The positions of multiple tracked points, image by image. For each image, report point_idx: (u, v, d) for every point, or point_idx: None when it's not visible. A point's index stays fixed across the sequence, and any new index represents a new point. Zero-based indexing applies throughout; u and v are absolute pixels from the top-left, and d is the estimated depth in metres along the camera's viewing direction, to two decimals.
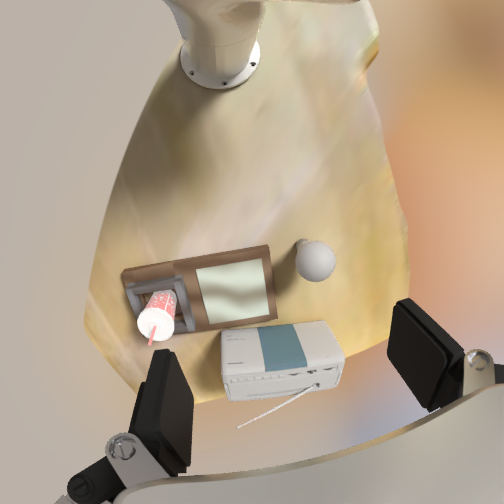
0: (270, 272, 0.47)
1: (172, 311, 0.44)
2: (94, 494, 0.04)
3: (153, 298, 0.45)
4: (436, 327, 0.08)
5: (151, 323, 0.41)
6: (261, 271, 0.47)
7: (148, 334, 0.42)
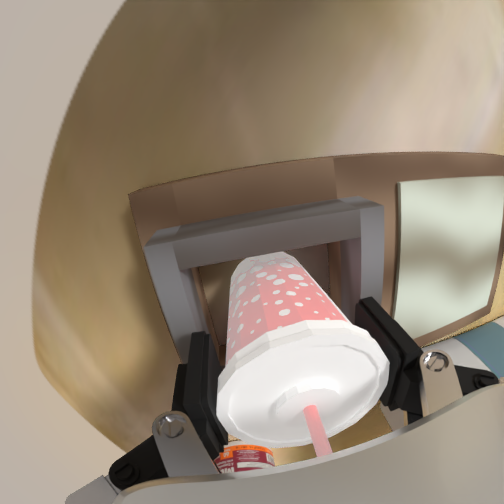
0: None
1: None
2: (140, 477, 0.05)
3: (263, 282, 0.12)
4: (393, 326, 0.09)
5: (299, 398, 0.08)
6: (501, 205, 0.14)
7: (261, 434, 0.09)
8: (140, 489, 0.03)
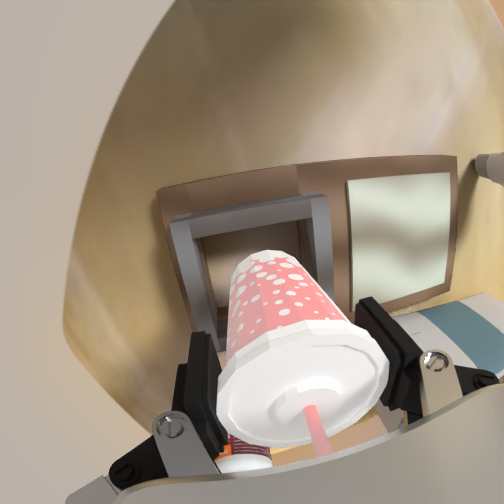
0: (455, 201, 0.21)
1: None
2: (140, 477, 0.05)
3: (263, 282, 0.12)
4: (393, 326, 0.09)
5: (299, 398, 0.08)
6: (448, 196, 0.20)
7: (261, 434, 0.09)
8: (140, 489, 0.03)
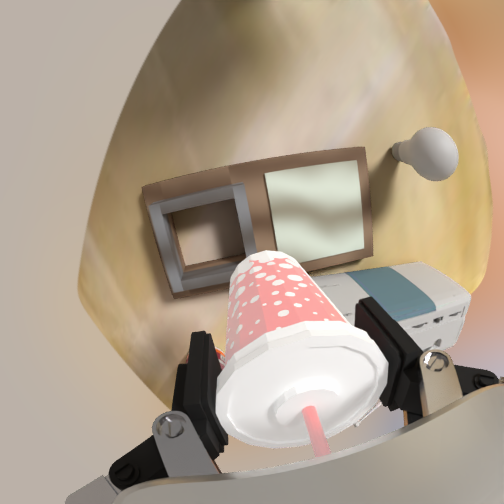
0: (366, 182, 0.31)
1: None
2: (140, 477, 0.05)
3: (262, 283, 0.12)
4: (393, 326, 0.09)
5: (298, 399, 0.08)
6: (356, 179, 0.30)
7: (260, 435, 0.09)
8: (140, 489, 0.03)
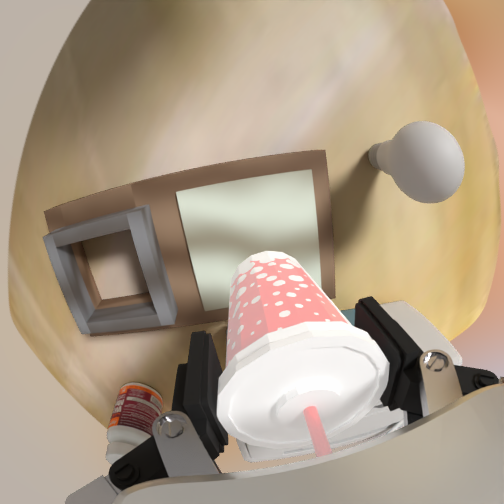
0: (327, 200, 0.23)
1: None
2: (140, 477, 0.05)
3: (263, 283, 0.12)
4: (393, 326, 0.09)
5: (299, 399, 0.08)
6: (311, 196, 0.22)
7: (261, 435, 0.09)
8: (140, 489, 0.03)
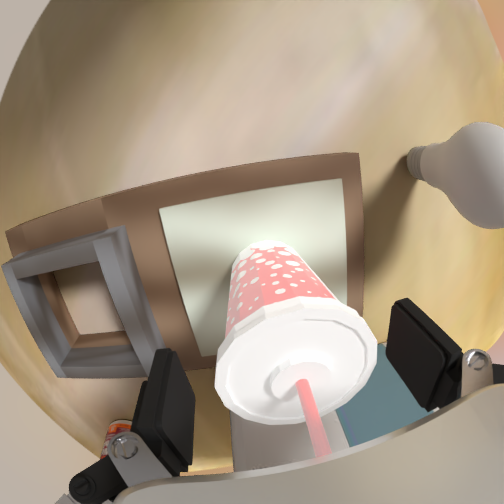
0: (359, 219, 0.17)
1: None
2: (96, 493, 0.04)
3: (262, 267, 0.13)
4: (434, 327, 0.08)
5: (292, 371, 0.09)
6: (340, 214, 0.17)
7: (255, 409, 0.10)
8: (140, 489, 0.03)
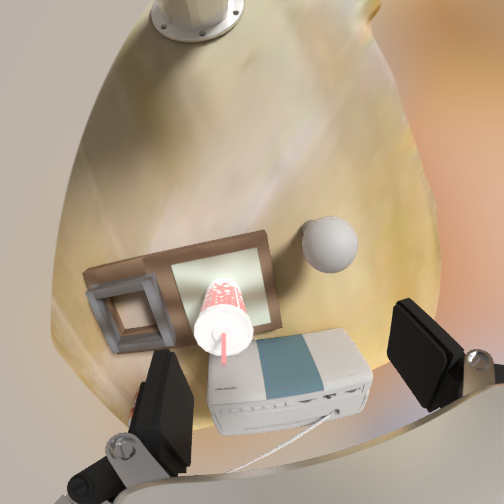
0: (269, 266, 0.36)
1: (245, 310, 0.30)
2: (94, 494, 0.04)
3: (214, 292, 0.31)
4: (436, 327, 0.08)
5: (218, 329, 0.27)
6: (257, 265, 0.35)
7: (210, 347, 0.28)
8: (140, 489, 0.03)
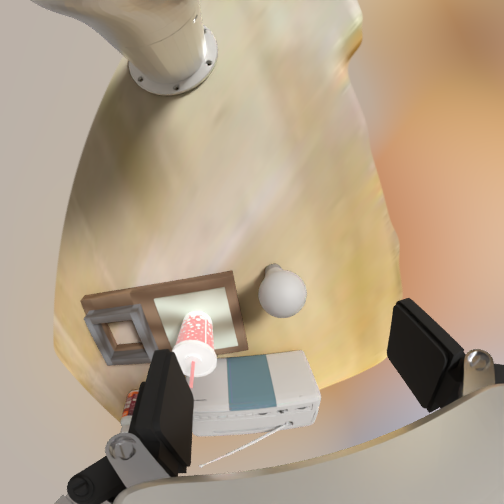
0: (236, 302, 0.42)
1: (212, 342, 0.36)
2: (94, 494, 0.04)
3: (187, 326, 0.37)
4: (436, 327, 0.08)
5: (189, 358, 0.33)
6: (225, 301, 0.41)
7: (183, 370, 0.34)
8: (140, 489, 0.03)
